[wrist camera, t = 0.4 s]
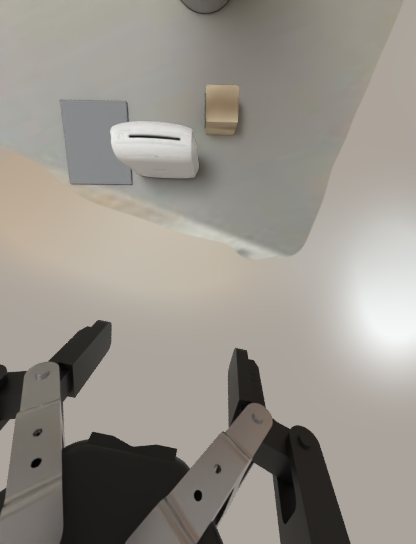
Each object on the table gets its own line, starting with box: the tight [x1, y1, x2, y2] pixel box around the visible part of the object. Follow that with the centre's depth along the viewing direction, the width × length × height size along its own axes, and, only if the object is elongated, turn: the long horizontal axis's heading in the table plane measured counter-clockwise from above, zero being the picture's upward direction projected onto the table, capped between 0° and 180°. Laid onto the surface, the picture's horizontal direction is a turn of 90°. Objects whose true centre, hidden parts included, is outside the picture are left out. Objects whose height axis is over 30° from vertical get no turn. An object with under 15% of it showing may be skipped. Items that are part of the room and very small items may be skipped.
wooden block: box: [205, 85, 239, 135], centre depth 32 cm, size 4×5×4 cm
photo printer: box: [110, 121, 199, 178], centre depth 30 cm, size 10×4×12 cm, turn 88°
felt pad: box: [60, 100, 132, 185], centre depth 35 cm, size 12×10×1 cm
